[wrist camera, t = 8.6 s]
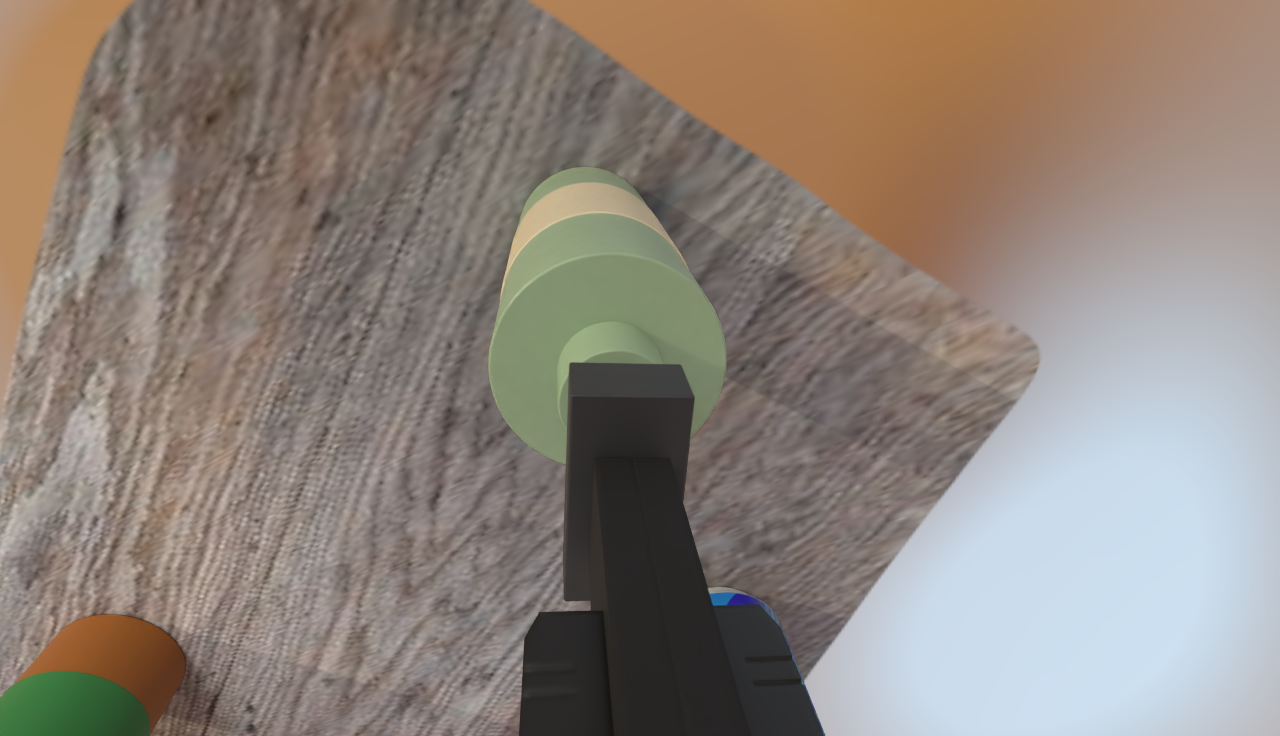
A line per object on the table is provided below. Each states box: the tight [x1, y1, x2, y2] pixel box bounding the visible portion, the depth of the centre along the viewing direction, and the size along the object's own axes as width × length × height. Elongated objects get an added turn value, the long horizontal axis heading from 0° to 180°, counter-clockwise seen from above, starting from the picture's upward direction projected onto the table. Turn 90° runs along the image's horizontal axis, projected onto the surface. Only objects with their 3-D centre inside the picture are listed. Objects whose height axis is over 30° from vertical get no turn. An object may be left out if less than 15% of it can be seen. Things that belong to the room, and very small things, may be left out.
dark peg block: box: [563, 362, 695, 601], centre depth 16 cm, size 7×2×3 cm, turn 176°
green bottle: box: [488, 167, 727, 465], centre depth 25 cm, size 6×6×18 cm
